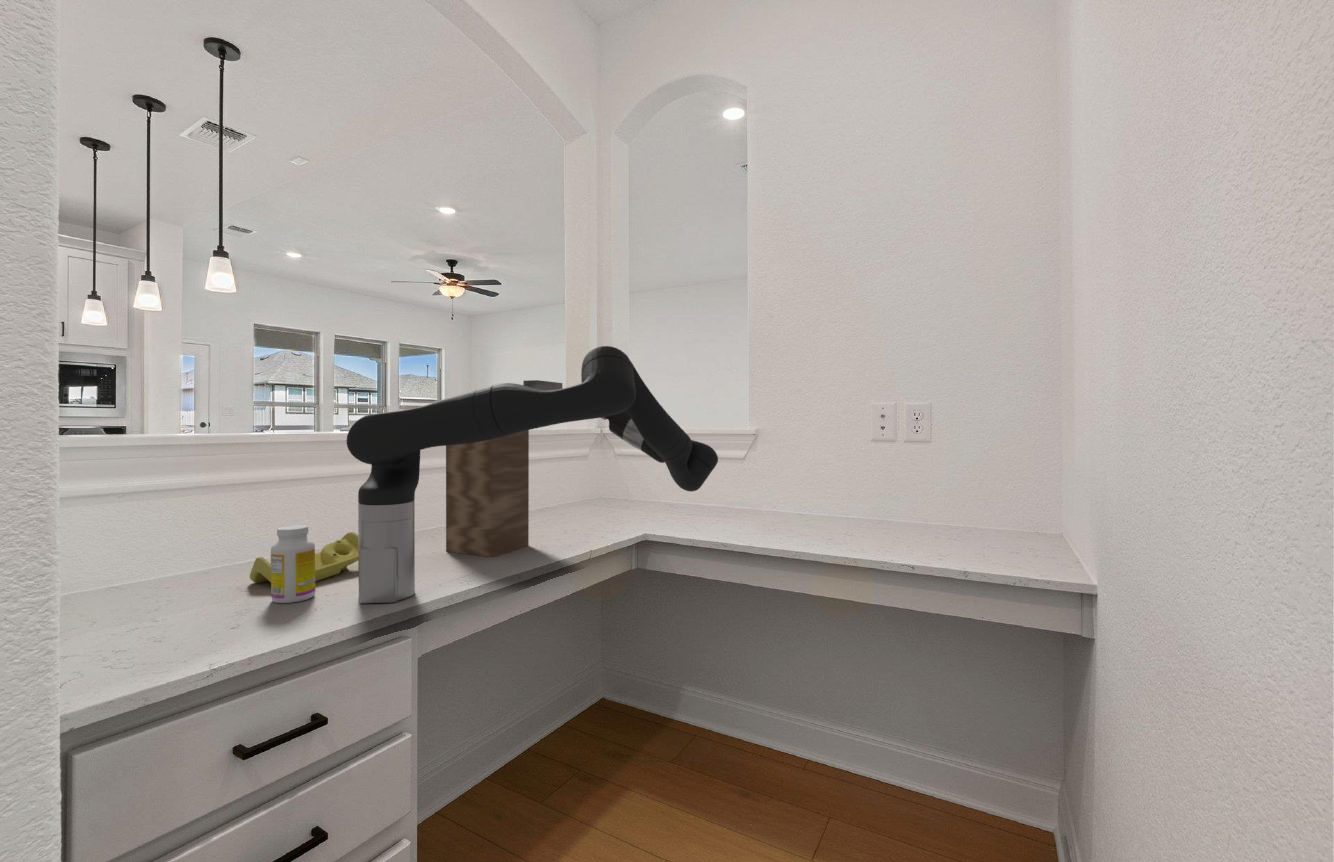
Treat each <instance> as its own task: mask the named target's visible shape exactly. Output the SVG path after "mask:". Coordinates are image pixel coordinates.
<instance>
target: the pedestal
mask: <svg viewBox="0 0 1334 862" xmlns="http://www.w3.org/2000/svg"><path fill="white" fill-rule="evenodd" d="M529 435H530V430H526V431H522V432H519V433H515V434H512V435H508V436H504V437H499V438H495V439H491V440H486V441H481V442H474V443H467V444H458V445H447V446H445V548H446V549H445V551H446V553H447V552H448V553H454V554H463V555H470V556H479V557H486V556H487V557H488V558H494V557H497V556H500V555H503V554H506V553H509V552H508V551H510V552H513V551H515V549H516V550H518V549H522V548H525V547H528V546H527V545H529V534H530V533H529V529H530V528H529V521H530V520H529V517H530V516H529V511H530V510H529V508H530V506H529V505H530V504H529V502H530V501H529V499H530V498H529V497H530V496H529V495H530V491H529V488H530V486H529V481H530V480H529V479H530V478H529V477H530V476H529V472H530V471H529V469H530V468H529V467H530V464H529V460H530V456H529V451H530V450H529V449H530V448H529V446H530V445H529V444H530V443H529V442H530V441H529V439H530V438H529ZM521 547H522V548H521ZM493 556H494V557H493ZM487 557H486V558H487Z"/></svg>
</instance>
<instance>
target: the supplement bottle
mask: <svg viewBox="0 0 1334 862" xmlns="http://www.w3.org/2000/svg"><path fill="white" fill-rule="evenodd" d="M308 533H309V526H308V525H304V524H303V525H302V524H297V525H295V524H294V525H286V526H281V527H277V530H276V536H277V537H278V541H277V542H275V543H274V544H272V545H271V547H270V564H271V582H270V585H271V586H270V590H271V591H270V593H271V594H270V595H271V600H272V601H273V602H274V603H276V604H293V603H298V602H302V601H303V602H304V601H307V600H309V599H311V598H313V597H314V596H315V595H316V581H315V553H316V546H315V542H314V541H313V540H311V539H309V538H308Z"/></svg>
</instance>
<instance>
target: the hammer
mask: <svg viewBox="0 0 1334 862" xmlns="http://www.w3.org/2000/svg"><path fill="white" fill-rule="evenodd" d="M522 385H524V386H528V387H532V388H535V389H540V390H558V389H562V388H563V382H555V381H547V380H538V379H537V380H532V379H531V380H523V384H522Z"/></svg>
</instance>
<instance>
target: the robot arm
mask: <svg viewBox="0 0 1334 862" xmlns="http://www.w3.org/2000/svg"><path fill="white" fill-rule="evenodd" d="M580 372H581V374H580V375H581V378H580V379H581V383H577V384H576V385H575V384H574V385H571V386H567V387H562V389H558V390H540V389H535V388H532V387H528V386H524V385H523V384H520V383H512V382H503V383H496V384H492V385H488V386H485V387H480V388H476V389H473V390H470V391H466V392H462V393H460V394H457V395H453V396H450V397H449V396H448V397H446V398H443V399H440V400H437V401H435V402H432V403H431V402H430V403H428V404H426V405H422V406H419V407H413V408H407V409H401V410H396V411H395V410H394V411H388V412H387V411H386V412H379V413H377V412H376V413H369V414H367V415H364V416H362V417H361V418H359V419H358V420H357V421H355V422H354V423H353V425H351V427H350V429H349V430H348V432H347V436H346V447H347V449H348V451H349V453H350V454H351V455H352V457H354V458H355V459H356V460H357V461H359V462H362V463H364V464H366V465H367V464H368V465H370V467H371V468H370V474H369V476H368V478H367V479H366V481H365V482H363V484H362V485H361V486H360V487H359V489H358V494H357V495H358V496H357V502H358V505H357V506H358V508H357V509H358V510H357V512H358V519H357V523H358V524H357V528H358V533H357V535H358V561H357V562H358V568H357V569H358V573H357V575H358V577H357V578H358V601H359V604H379V603H380V604H382V603H383V604H384V603H397V602H398V601H400V600H403V599H407V598H409V597H411V596H413V595H414V594H415V592H416V591H415V590H416V585H415V583H416V581H415V579H416V578H415V577H416V575H415V574H416V572H415V571H416V570H415V569H416V568H415V567H416V566H415V564H416V563H415V557H416V556H415V547H416V546H415V540H416V539H415V497H416V495H415V494H416V490H417V488H418V484H419V481H420V469H421V468H420V467H421V466H420V465H421V451H422V450H425V449H431V448H436V447H443V446H445V447H446V446H447V445H458V444H467V443H474V442H481V441H486V440H491V439H495V438H499V437H504V436H508V435H512V434H515V433H519V432H522V431H526V430H529V431H531V430H534V429H539V428H543V427H544V428H545V427H548V426H549V427H550V426H554V425H559V424H564V423H571V422H579V421H586V420H587V421H588V420H594V419H602V420H603V421H606V420H608V429H609V431H610V432H611V433H612V434H613V435H615V436H617V437H618V438H620V439H621V440H623V441H624V442H626V443H627V444H628V445H630V446H631V447H633V448H635V449H636V450H637V449H638V450H639V451H641V452H642V453H644V454H646V455H647V456H649V457H650V458H652V459H653V460H655V461H657V462H658V463H660V464H661V463H662V464H664V463H665V465H666V468H667V470H668V472H669V474H670V476H671V478H672V480H673V481H674V483H675V484H676V485H677V486H678V487H679V488H680V489H681V490H683V491H686V492H696V491H698V490H699V489H700V488H701V487H702V486H703V485H704V483H705V481H706V480H707V478H708V477H709V476H710V474H711V473H712V472H713V471H714V469H715V468H716V466H717V465H718V462H719V455H718V453H717V452H716V450H715V449H714V448H713V447H711V446H710V445H709V444H706V443H703V442H700V441H697V440H693V439H691V438H690V436H689V434H687V433H686V431H684V429H682V427H681V426H680V425H679V424H678V423H677V422H676V421H675V420H674V419H673V418H672V417H671V416H670V414H669V413H668V412H667V411H666V410H665V408H664V407H663V406H662V405H661V403H659V401H658V400H657V398H656V397H655V396H654V394H653V393H652V391H651V390H650V389H649V388H648V386H647V384H646V383H645V382H644V381H643V378H642V377H641V375H640V373H639V372H638V371H637V369H636V367H635V366H634V364H633V363H632V361H631V359H630V358H629V356H628V355H627V354H626V353H625V352H624V351H622V350H621V349H619V348H617V347H614V346H610V345H602V346H601V345H600V346H596V347H595V348H592V349H591V350H589V351H588V352H587V354H585V356H584V357H583V360H582V365H581V371H580Z"/></svg>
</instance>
